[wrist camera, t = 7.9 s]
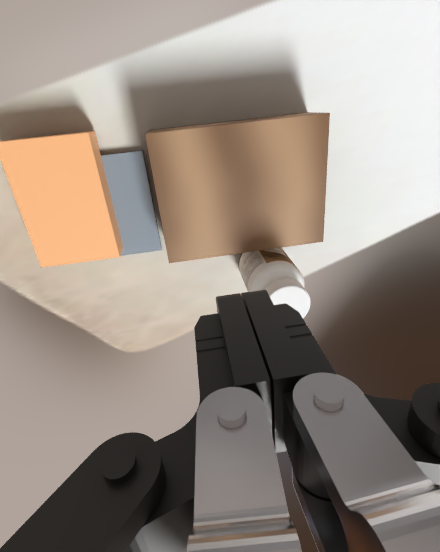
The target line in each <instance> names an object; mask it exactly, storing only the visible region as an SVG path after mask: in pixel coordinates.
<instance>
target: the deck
mask: <svg viewBox="0 0 440 552" xmlns="http://www.w3.org/2000/svg"><path fill="white" fill-rule="evenodd" d="M329 116H330V113H309V112H307V113H299V114H290V115H281V116H272V117H263V118H255V119H246V120H237V121H228V122H219V123H211V124H202V125H193V126H184V127H175V128H167V129H158V130H149V131H148V132H147V133H146V134H145V137H146V142H147V147H148V153H149V158H150V164H151V169H152V174H153V180H154V185H155V190H156V196H157V201H158V206H159V212H160V217H161V222H162V228H163V233H164V238H165V244H166V249H167V254H168V260H169V263H174V262H181V261H188V260H195V259H202V258H209V257H216V256H224V255H231V254H238V253H245V252H252V251H259V250H266V249H274V248H281V247H288V246H295V245H302V244H309V243H316V242H323V234H324V214H325V195H326V175H327V155H328V136H329Z"/></svg>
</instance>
